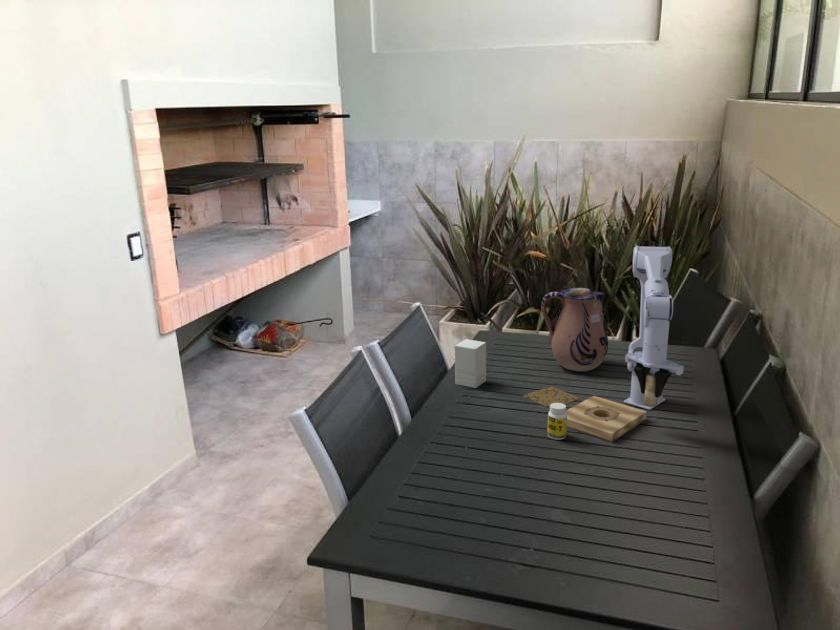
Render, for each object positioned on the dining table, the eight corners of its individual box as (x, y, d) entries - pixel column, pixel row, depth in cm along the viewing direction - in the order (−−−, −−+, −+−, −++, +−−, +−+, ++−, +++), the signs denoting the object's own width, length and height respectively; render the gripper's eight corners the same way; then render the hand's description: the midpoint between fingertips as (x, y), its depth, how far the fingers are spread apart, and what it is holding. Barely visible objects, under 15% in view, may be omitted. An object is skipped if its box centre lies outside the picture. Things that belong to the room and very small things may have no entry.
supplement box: (486, 380, 211) (487, 342, 208) (475, 388, 205) (475, 349, 202) (465, 376, 215) (465, 338, 212) (454, 384, 209) (453, 345, 206)
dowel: (647, 400, 177) (649, 371, 175) (659, 403, 175) (661, 374, 172) (641, 404, 175) (643, 374, 172) (653, 407, 172) (655, 378, 170)
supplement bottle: (544, 438, 173) (545, 407, 171) (550, 430, 177) (551, 400, 175) (563, 441, 171) (564, 410, 169) (568, 434, 175) (570, 403, 173)
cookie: (582, 400, 197) (582, 397, 197) (552, 410, 190) (552, 407, 190) (552, 387, 206) (552, 384, 206) (522, 397, 200) (522, 394, 199)
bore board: (593, 403, 193) (593, 395, 193) (646, 419, 182) (646, 411, 182) (556, 423, 181) (557, 415, 180) (611, 442, 170) (611, 433, 170)
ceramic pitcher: (612, 376, 213) (617, 298, 206) (544, 377, 213) (547, 299, 206) (599, 357, 229) (603, 285, 222) (536, 358, 230) (538, 286, 223)
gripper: (620, 341, 172) (617, 391, 176) (676, 354, 162) (671, 406, 166) (634, 334, 177) (630, 383, 181) (689, 346, 167) (684, 398, 171)
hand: (651, 394), depth 174 cm, fingers closed on dowel, 3 cm apart
